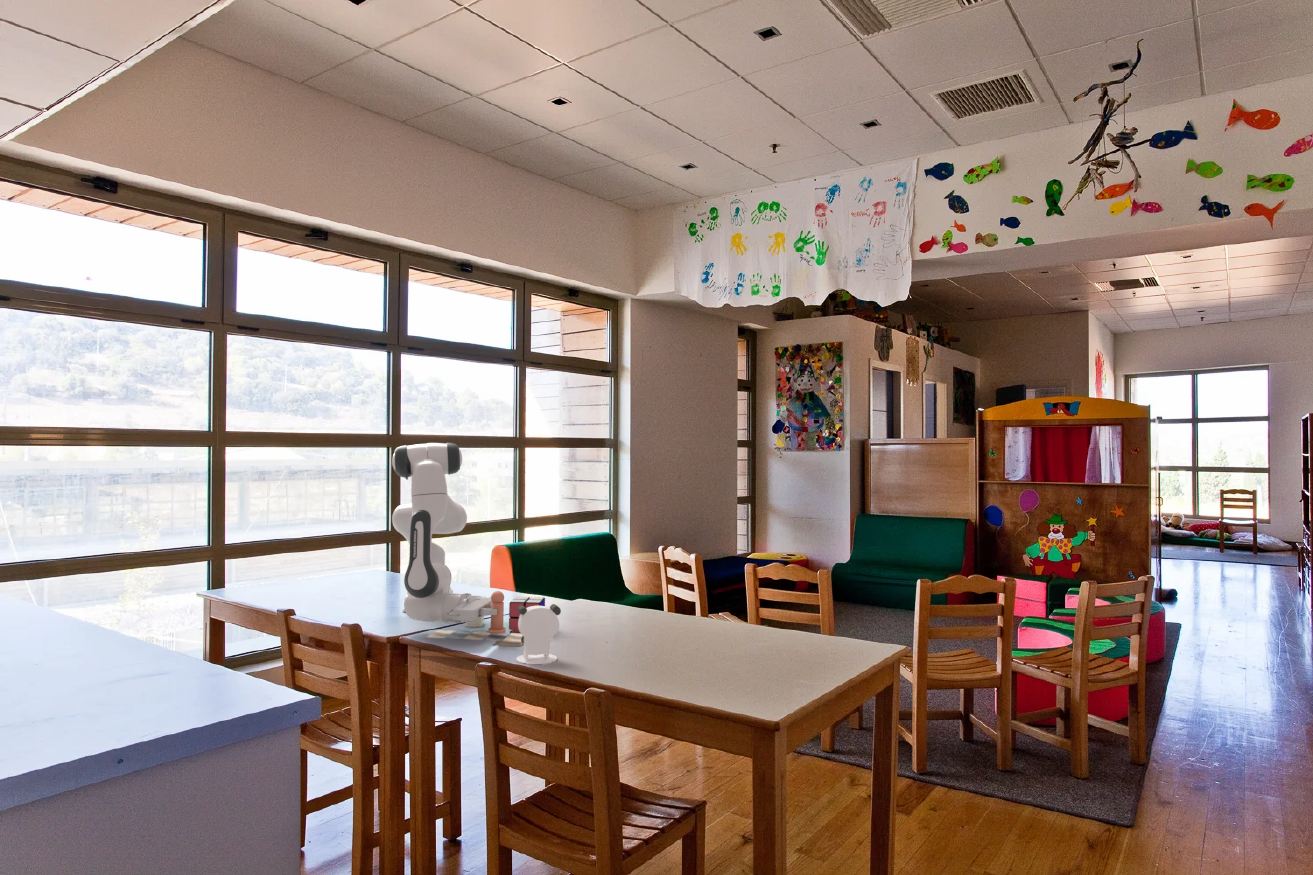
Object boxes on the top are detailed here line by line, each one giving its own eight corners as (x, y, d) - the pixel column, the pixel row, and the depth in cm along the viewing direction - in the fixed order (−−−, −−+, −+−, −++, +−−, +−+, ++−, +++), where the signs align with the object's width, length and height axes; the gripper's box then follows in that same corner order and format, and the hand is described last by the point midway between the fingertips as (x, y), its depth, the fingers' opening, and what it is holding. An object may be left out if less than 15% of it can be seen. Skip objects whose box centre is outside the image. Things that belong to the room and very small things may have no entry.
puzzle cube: (539, 633, 258) (540, 602, 258) (508, 633, 258) (509, 601, 258) (544, 626, 268) (545, 596, 268) (514, 626, 268) (515, 596, 268)
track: (438, 633, 255) (438, 629, 255) (530, 637, 252) (530, 633, 252) (424, 641, 244) (424, 637, 244) (520, 646, 241) (520, 641, 241)
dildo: (491, 629, 250) (492, 589, 250) (507, 630, 250) (508, 589, 250) (485, 633, 245) (486, 592, 245) (502, 634, 244) (503, 592, 245)
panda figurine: (553, 652, 234) (554, 601, 234) (563, 662, 223) (564, 608, 224) (512, 655, 230) (513, 603, 230) (520, 666, 219) (521, 611, 219)
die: (468, 627, 265) (468, 612, 265) (483, 627, 265) (483, 612, 265) (465, 630, 260) (465, 615, 260) (481, 630, 260) (481, 615, 260)
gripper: (444, 604, 239) (489, 606, 237) (468, 592, 259) (510, 594, 257) (443, 625, 239) (489, 627, 237) (467, 611, 259) (509, 613, 257)
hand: (500, 610), depth 247 cm, fingers closed on dildo, 4 cm apart
